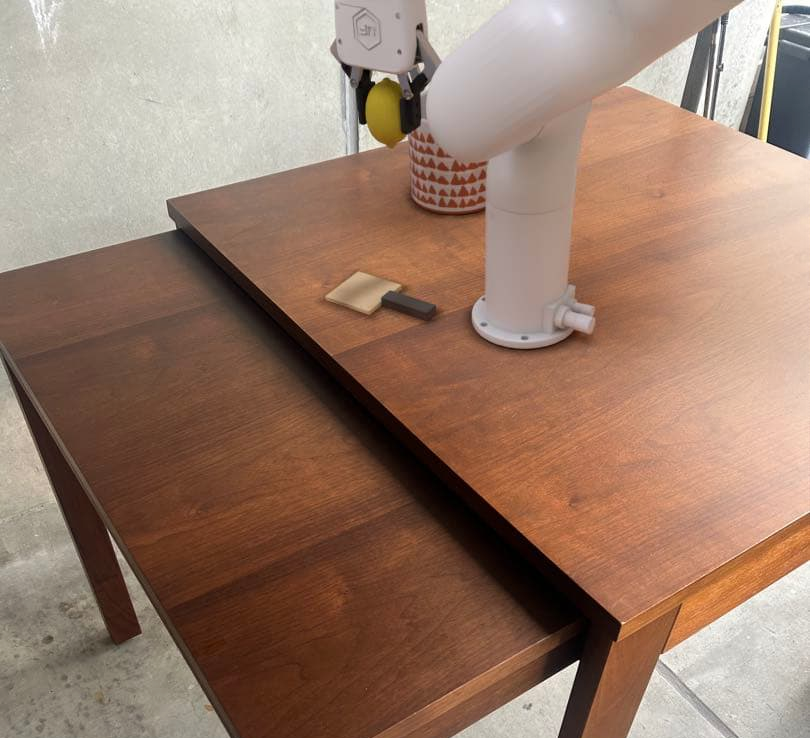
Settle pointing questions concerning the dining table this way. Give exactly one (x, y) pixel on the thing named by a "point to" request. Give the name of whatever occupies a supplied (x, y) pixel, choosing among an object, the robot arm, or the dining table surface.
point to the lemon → (385, 112)
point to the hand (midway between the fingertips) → (389, 123)
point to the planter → (443, 174)
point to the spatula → (378, 297)
